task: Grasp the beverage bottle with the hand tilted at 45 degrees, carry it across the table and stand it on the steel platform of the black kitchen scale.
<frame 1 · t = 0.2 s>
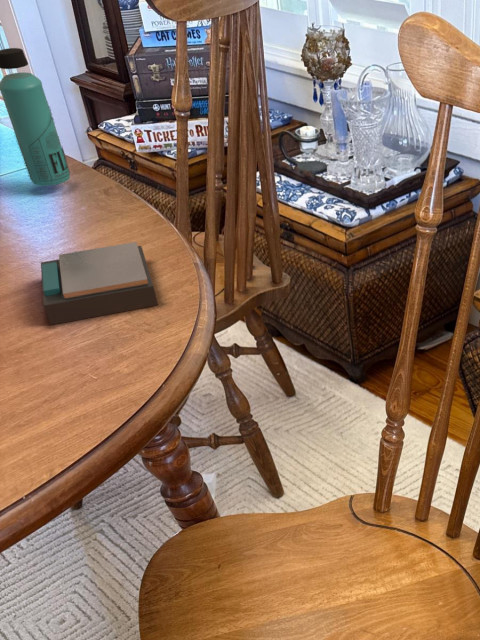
beverage bottle: (54, 189, 129), on the table
kitchen scale: (101, 292, 101), on the table
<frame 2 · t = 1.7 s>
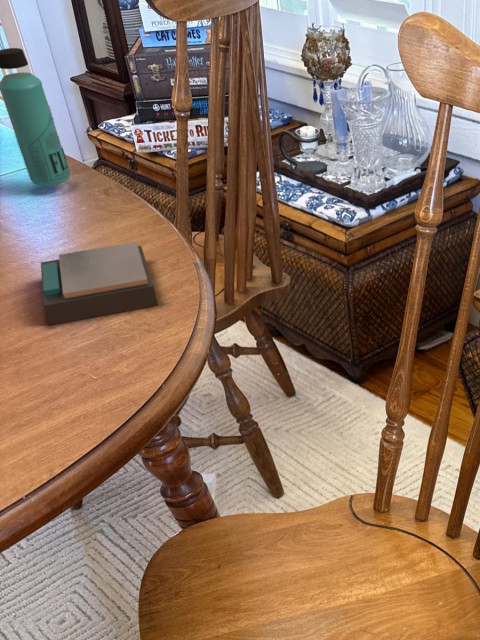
nothing on the table moved.
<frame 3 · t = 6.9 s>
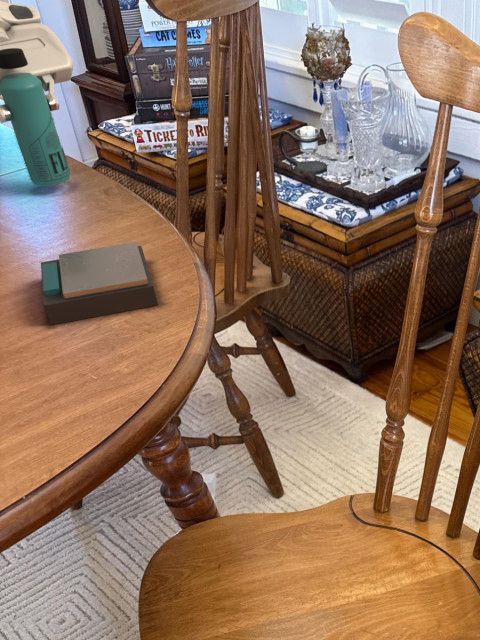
hand: (31, 113, 121), 11 cm above the table, tool tilted 45°, fingers closed on beverage bottle, 6 cm apart
beverage bottle: (54, 189, 129), on the table, touching gripper
when the fingers open (15 cm above the table, at t = 18.5 s): beverage bottle stays where it is, resting on kitchen scale.
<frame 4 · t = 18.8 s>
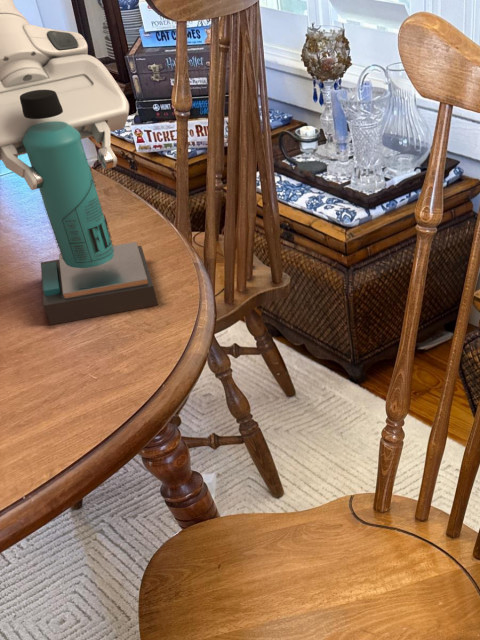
hand: (75, 175, 91), 15 cm above the table, tool tilted 45°, fingers open, 8 cm apart
beverage bottle: (93, 270, 98), point 3 cm above the table, touching kitchen scale
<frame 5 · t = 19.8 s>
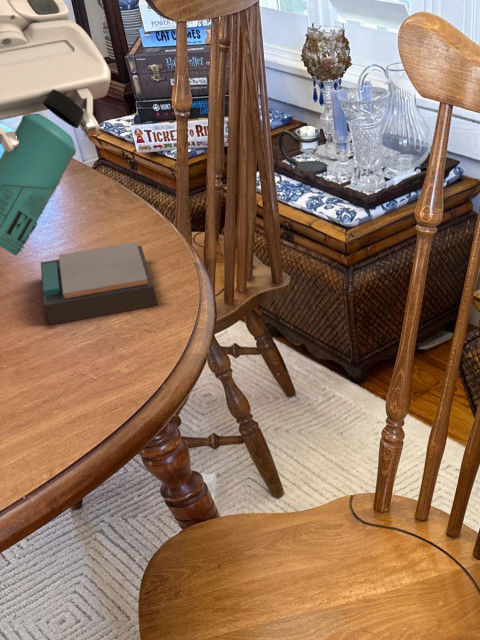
hand: (55, 142, 90), 18 cm above the table, tool tilted 45°, fingers open, 8 cm apart
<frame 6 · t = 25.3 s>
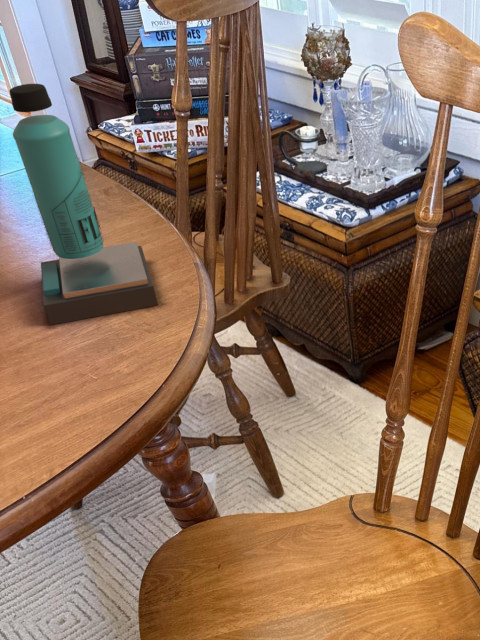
beverage bottle: (83, 261, 100), point 3 cm above the table, touching kitchen scale
at the end: beverage bottle inside the target area on the kitchen scale (3.5 cm from its centre), point 3.2 cm above the kitchen scale's base; beverage bottle tilted 0°; the gripper is holding nothing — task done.
